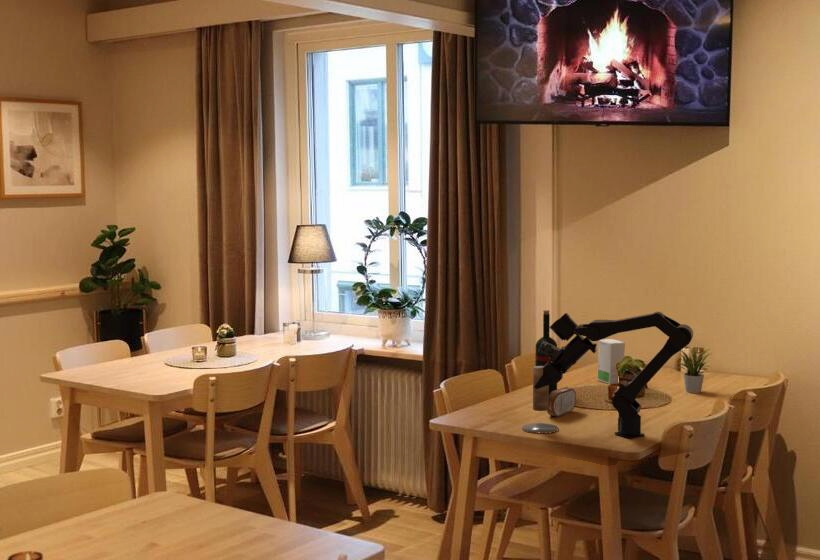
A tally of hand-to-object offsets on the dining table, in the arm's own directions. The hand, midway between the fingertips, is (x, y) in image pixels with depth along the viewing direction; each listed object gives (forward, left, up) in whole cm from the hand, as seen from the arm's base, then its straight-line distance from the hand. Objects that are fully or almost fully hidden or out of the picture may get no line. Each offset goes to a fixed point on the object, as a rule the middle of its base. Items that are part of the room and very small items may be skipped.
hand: (536, 386), depth 316 cm
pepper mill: (-1, -1, -7) cm, 7 cm away
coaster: (-1, -1, -13) cm, 13 cm away
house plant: (+12, -81, -14) cm, 83 cm away
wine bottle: (+38, -34, -14) cm, 53 cm away
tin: (+11, -19, -14) cm, 26 cm away
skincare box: (+42, -67, -14) cm, 80 cm away
